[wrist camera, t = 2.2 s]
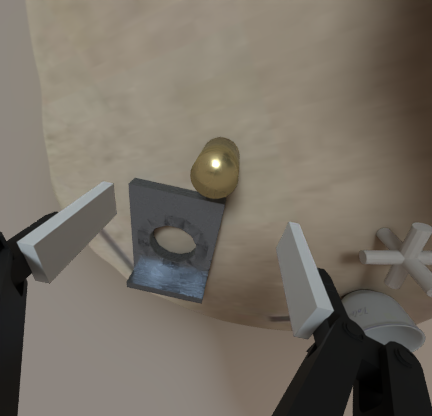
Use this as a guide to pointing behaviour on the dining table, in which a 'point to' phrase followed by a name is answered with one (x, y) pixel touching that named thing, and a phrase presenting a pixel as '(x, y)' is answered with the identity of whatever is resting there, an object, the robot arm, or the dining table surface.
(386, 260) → the pipe connector
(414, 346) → the teacup
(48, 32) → the dining table surface
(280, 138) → the dining table surface
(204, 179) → the gold round-ended peg
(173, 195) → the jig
